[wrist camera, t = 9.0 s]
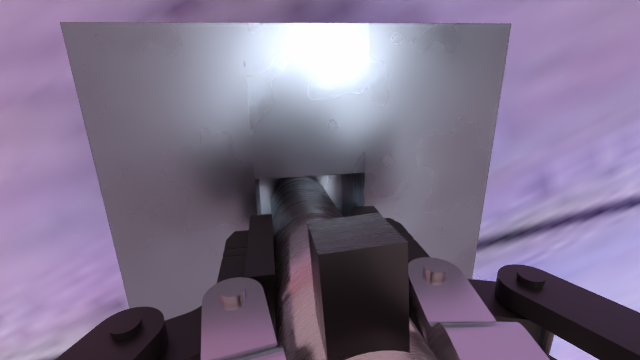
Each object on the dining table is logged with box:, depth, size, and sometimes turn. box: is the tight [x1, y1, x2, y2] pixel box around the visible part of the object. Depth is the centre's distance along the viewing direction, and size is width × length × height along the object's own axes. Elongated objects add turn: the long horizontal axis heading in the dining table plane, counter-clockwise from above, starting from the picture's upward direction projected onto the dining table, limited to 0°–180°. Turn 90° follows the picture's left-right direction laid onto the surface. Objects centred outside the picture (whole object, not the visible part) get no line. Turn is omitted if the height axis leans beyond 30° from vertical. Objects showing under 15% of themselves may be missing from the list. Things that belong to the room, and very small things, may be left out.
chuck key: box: [271, 176, 438, 360], centre depth 10 cm, size 3×6×12 cm, turn 4°
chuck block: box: [60, 22, 511, 320], centre depth 16 cm, size 20×14×5 cm
